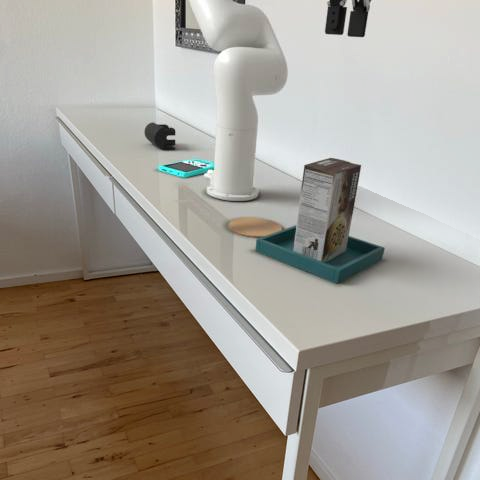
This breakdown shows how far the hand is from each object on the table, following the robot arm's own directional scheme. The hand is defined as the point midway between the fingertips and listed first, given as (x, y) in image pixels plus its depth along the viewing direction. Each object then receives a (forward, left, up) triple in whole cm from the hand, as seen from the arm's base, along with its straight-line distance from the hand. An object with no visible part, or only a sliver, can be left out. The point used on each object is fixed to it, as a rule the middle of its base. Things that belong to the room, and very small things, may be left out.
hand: (345, 35), depth 89 cm
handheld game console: (-50, +11, -35) cm, 62 cm away
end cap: (-77, +23, -36) cm, 88 cm away
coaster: (-8, -11, -35) cm, 38 cm away
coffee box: (+9, -13, -35) cm, 38 cm away
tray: (+9, -13, -35) cm, 39 cm away
